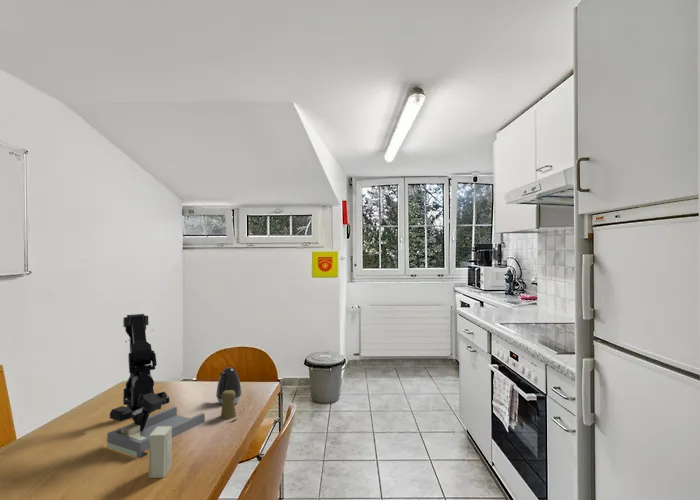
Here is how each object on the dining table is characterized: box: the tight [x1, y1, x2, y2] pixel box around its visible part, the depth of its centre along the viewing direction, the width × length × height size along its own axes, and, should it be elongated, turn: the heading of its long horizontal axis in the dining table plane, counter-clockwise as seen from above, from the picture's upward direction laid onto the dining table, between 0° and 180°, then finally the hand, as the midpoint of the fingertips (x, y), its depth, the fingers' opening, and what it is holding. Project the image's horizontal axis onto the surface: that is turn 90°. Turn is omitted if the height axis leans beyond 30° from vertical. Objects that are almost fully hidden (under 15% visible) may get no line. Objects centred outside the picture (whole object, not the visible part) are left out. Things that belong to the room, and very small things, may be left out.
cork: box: [220, 390, 237, 424], centre depth 153 cm, size 6×6×11 cm
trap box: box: [106, 406, 206, 459], centre depth 139 cm, size 16×26×4 cm, turn 154°
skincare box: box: [148, 426, 173, 479], centre depth 116 cm, size 6×4×12 cm
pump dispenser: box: [215, 366, 242, 405], centre depth 170 cm, size 10×10×15 cm
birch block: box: [120, 422, 140, 439], centre depth 134 cm, size 4×4×4 cm
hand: (141, 431), depth 137 cm, fingers closed
